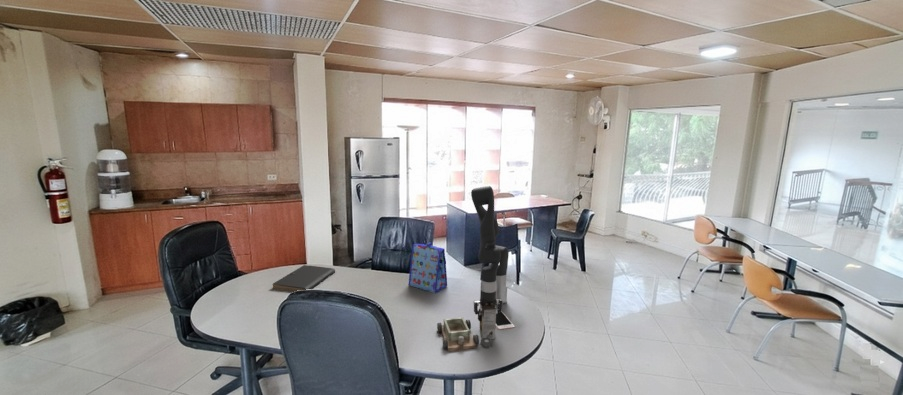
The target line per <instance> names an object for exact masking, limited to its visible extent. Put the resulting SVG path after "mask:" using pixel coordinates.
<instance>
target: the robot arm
mask: <svg viewBox="0 0 903 395" xmlns="http://www.w3.org/2000/svg"><path fill="white" fill-rule="evenodd" d="M470 194H471V199H472V204H473V206H474V208H475V211H476V214H477V216H478V220H479V224H480V225H479V234H480V235H479V236H480V243H479V244H480V245H479V246H480V247H479V250H478V256H477V257H478V258H477V259H478V261H479V262H480V263H481V264H489V265H487V266H484V267H482V268H481V275H480V276H481V280H480V294H479V295H480V297H479V300H477V301H476V300H474V301H473V312H474V314H475V315H477V320H478V322H479V323H480V322H482V315H481V314H482V308H481V306H483V305H484V306H488V305H491V306H493V305H495V306H496V305H497V306H496V319H497V313H498V312H501V311H503V310H502V308H503V304H505V303H507V300H508V286H507V274H508V273H507V272H508V266H509V254H510V252H509V248H508V247H507V246H501V245H497V244H496V239H497V238H498V236H499V234H500V226H499V222H498V220H497V218H496V217H495V194H494V190H493V187H492V186H490V185H487V186H480V187H475V188H473V189H471V192H470ZM486 205H487V209H485V207H484V206H486ZM480 304H481V306H480ZM478 307H479V308H478Z"/></svg>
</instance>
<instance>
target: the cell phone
mask: <svg viewBox="0 0 903 395" xmlns="http://www.w3.org/2000/svg"><path fill="white" fill-rule="evenodd" d="M495 328H497V330H500V331H501V330H507V329H514V328H516V327H515V325H514V324H513V322H512V321H511V320H510V318H508V317H507V315H506V314H505V313H504V312H503V310H501V312H498V313H497V319H496V324H495Z"/></svg>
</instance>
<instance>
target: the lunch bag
mask: <svg viewBox="0 0 903 395" xmlns="http://www.w3.org/2000/svg"><path fill="white" fill-rule="evenodd" d="M412 245H413V246H412V250H411V257H410V266H409V276H408V285H409V286H411V287H414V288H418V289H420V290H424V291H427V292H430V293H433V294H437V293H438V292H439V291H441V290H442V289H445V288H447V287H448V276H447V259H446V254H445V248H442V247H438V246H435V245H432V242H427V243H426V244H423V243H414V244H412Z"/></svg>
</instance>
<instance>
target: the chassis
mask: <svg viewBox="0 0 903 395" xmlns="http://www.w3.org/2000/svg"><path fill="white" fill-rule="evenodd" d="M436 326H437V327H436V330H437V333H441V335H442V348H443V349H444V350H445V349H447V351H448V352H452V351H453V352H455V351H462V350H471V349H472V350H473V349H476V348H477V346H478V345H480V339H479V338H480V337H479V335H478V334H473V336H472V334H471V330H470V329H471V328H472V324H471V320H470V319H466V320H465V318H464V317H453V318H444V319H443V324H442V322H437V325H436Z"/></svg>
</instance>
